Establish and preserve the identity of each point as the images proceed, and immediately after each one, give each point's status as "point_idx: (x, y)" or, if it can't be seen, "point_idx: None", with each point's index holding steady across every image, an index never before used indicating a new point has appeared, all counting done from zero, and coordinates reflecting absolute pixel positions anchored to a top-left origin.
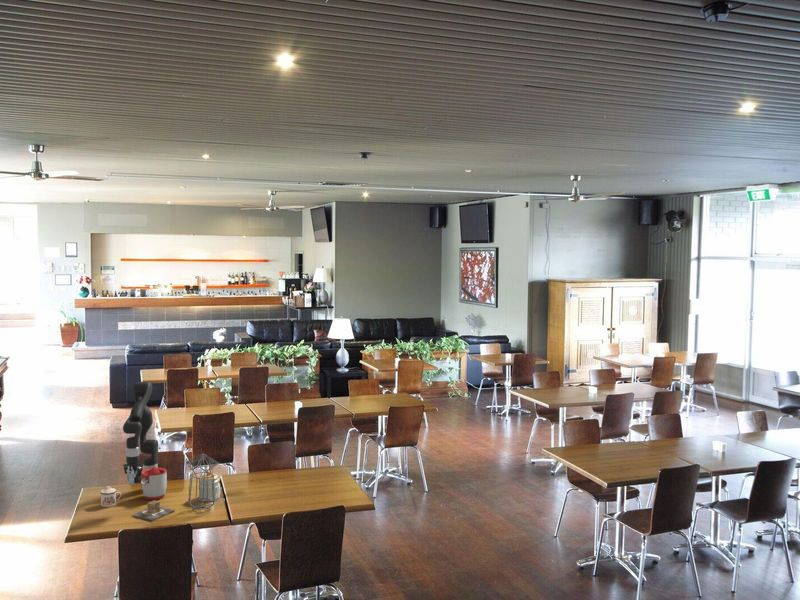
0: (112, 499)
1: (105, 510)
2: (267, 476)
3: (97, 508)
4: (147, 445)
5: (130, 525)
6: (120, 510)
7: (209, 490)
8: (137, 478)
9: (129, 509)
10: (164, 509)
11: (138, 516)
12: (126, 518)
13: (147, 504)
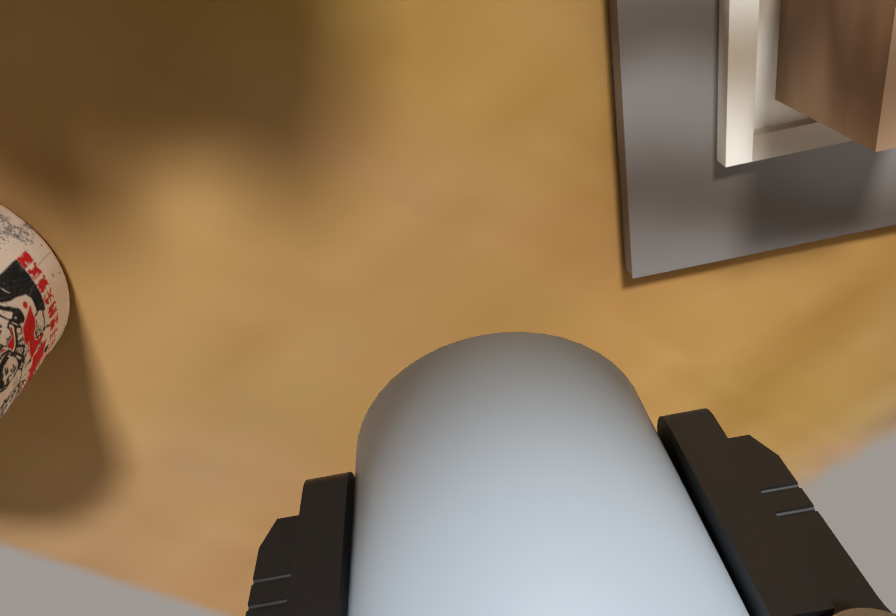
0: (17, 331)
1: (166, 388)
2: None
3: (25, 420)
4: None
5: (824, 402)
6: (301, 267)
7: None
8: (830, 583)
9: (356, 163)
10: None
11: (750, 253)
12: (619, 343)
13: (857, 141)
